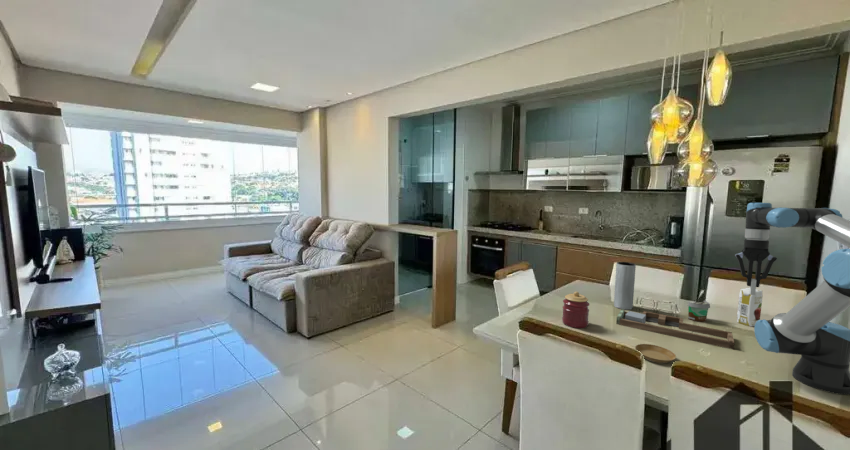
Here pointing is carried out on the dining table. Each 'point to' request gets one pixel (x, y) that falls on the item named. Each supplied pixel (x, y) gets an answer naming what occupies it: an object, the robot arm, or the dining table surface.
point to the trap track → (679, 323)
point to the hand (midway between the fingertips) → (752, 294)
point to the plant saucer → (656, 353)
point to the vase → (624, 285)
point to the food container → (698, 311)
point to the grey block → (635, 317)
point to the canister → (575, 310)
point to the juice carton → (749, 307)
